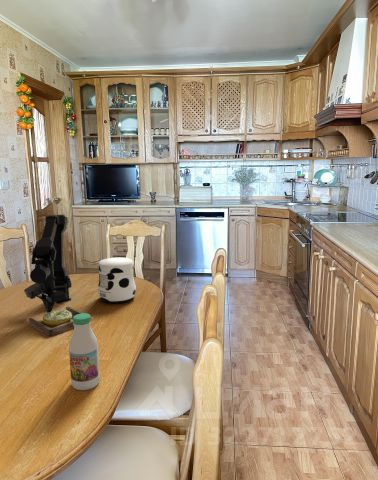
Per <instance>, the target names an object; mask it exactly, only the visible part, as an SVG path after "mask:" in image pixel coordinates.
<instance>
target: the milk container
mask: <svg viewBox="0 0 378 480" xmlns="http://www.w3.org/2000/svg"><path fill="white" fill-rule="evenodd" d="M98 278H99V279H98V285H97V294H98V298H99V299H100V300H101V301H103V302H106V303H115V304H116V303H122V302H127V301H130V300H132V299H133V298H134V297H135V295H136V292H137V290H136V289H137V287H136V282H135V280H134V279H135V278H134V262H133V259H131V258H128V257H108V258H103V259H101V260H99V261H98Z"/></svg>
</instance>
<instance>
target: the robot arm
mask: <svg viewBox="0 0 378 480" xmlns="http://www.w3.org/2000/svg"><path fill="white" fill-rule="evenodd" d="M44 219H45V223H44V227H43V231H42V234H41V238H40V239H39V240H38V241H36V242H35V245H34V247H33V249H32V255H31V264H30V265H34V268H33V269H32V270H31V271H30V274H29V277H30V280H31V282H33V283H32V284H31V285H29V286H28V287H26V288H25V289H23V292H24V294H25V296H26V297H27V298H29V299H30V300H33V299H36V298H38V299H39V300H41V301H42V304H43V306H44V308H45V311H46V313H48V312H52V311H53V308H54V306H55V303H57V304H63V303H65V302H68V301H71V300H72V298H70V290H69V289H71V288H72V280H71V278H70V276H69V273H68V270H67V269H66V267H65V262H64V233H65V232H66V230H67V225H68V223H69V220H68V217H67V216H66V215H65V214H49V215H46V216H45V218H44Z"/></svg>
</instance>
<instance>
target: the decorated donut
mask: <svg viewBox="0 0 378 480" xmlns="http://www.w3.org/2000/svg"><path fill="white" fill-rule="evenodd" d="M71 319H72V320H73V315H72V314H71V312H69V311H67V310H66V309H59V310H58V309H56V310H52V311H51V312H48V313H47V312H46V313H45V314H44V315H42V322H43V323H44V325H45V326H47V327H57V326H59V325H62V324H65V323H68V322H70V321H71Z"/></svg>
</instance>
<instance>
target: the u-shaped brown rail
mask: <svg viewBox="0 0 378 480" xmlns="http://www.w3.org/2000/svg"><path fill="white" fill-rule="evenodd" d="M65 310H67V311H69V312H71V314H72V317H74V316H75V315H77V314H82V313H83V312H82V311H80V310H77V309H76V308H73V307H71V306H69V305H68V306H66V307H65ZM28 325H29V326H30V327H33V328H35V329H36V330H37V331H38V332H39V331H40V332H42V333H43V334H45V335H47V336H48V337H50V338H51V337H53V336H56V335H58V334H62V333H64V332H66V331H69V330H72V329H73V330H74V325H73V320H70V321H68V322H67V323H65V324H62V325H59V326H53V327H50V326H48V325H46V324H45V323H44V324H43V323H41V322H40V321H38V320H36V319H34V318H32V317H29V318H28Z"/></svg>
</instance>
